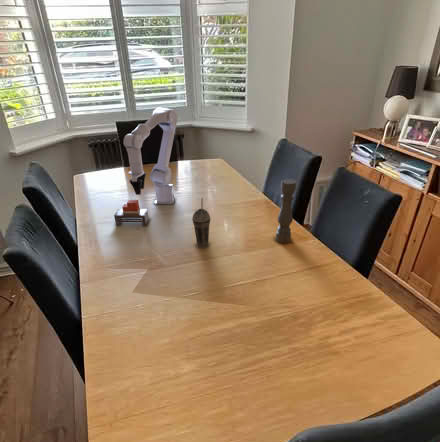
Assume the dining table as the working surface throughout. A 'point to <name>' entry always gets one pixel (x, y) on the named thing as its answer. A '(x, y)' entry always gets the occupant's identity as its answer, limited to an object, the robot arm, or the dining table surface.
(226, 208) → the dining table surface
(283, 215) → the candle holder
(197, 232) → the beverage cup
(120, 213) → the brown flanged block
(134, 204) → the stepped red block
